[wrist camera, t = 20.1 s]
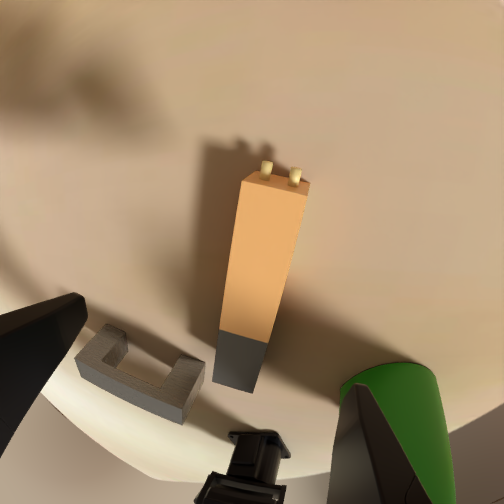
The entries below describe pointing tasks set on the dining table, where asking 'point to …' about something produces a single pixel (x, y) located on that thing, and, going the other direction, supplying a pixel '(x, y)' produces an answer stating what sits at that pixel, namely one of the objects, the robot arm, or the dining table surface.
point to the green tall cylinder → (414, 422)
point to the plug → (257, 272)
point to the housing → (132, 389)
